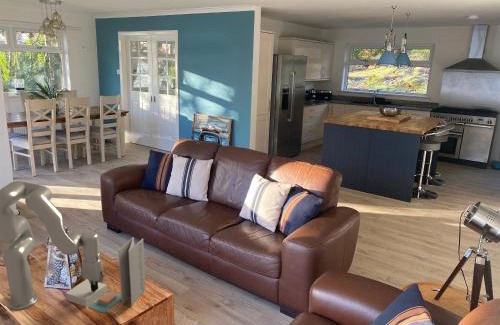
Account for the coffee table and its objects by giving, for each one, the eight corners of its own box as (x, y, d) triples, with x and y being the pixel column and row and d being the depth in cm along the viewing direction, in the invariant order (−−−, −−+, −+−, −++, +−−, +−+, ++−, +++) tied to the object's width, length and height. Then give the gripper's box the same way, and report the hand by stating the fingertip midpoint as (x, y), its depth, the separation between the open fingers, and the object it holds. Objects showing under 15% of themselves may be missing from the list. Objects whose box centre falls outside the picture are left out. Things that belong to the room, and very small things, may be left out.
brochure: (132, 306, 185) (128, 251, 177) (121, 304, 186) (118, 250, 178) (145, 289, 198) (143, 238, 190) (135, 288, 199) (133, 236, 191)
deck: (66, 300, 188) (65, 293, 187) (88, 285, 200) (87, 278, 199) (86, 307, 183) (85, 299, 182) (107, 291, 196) (106, 284, 195)
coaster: (107, 302, 184) (108, 305, 184) (116, 295, 189) (116, 298, 190) (98, 299, 186) (98, 302, 186) (106, 292, 191) (107, 295, 192)
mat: (88, 307, 183) (88, 307, 183) (108, 291, 195) (108, 291, 195) (104, 313, 179) (104, 312, 179) (124, 297, 192) (124, 296, 192)
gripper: (74, 257, 183) (77, 290, 188) (98, 264, 178) (101, 297, 183) (85, 250, 190) (88, 282, 195) (109, 257, 185) (111, 289, 190)
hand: (94, 289), depth 189 cm, fingers closed
